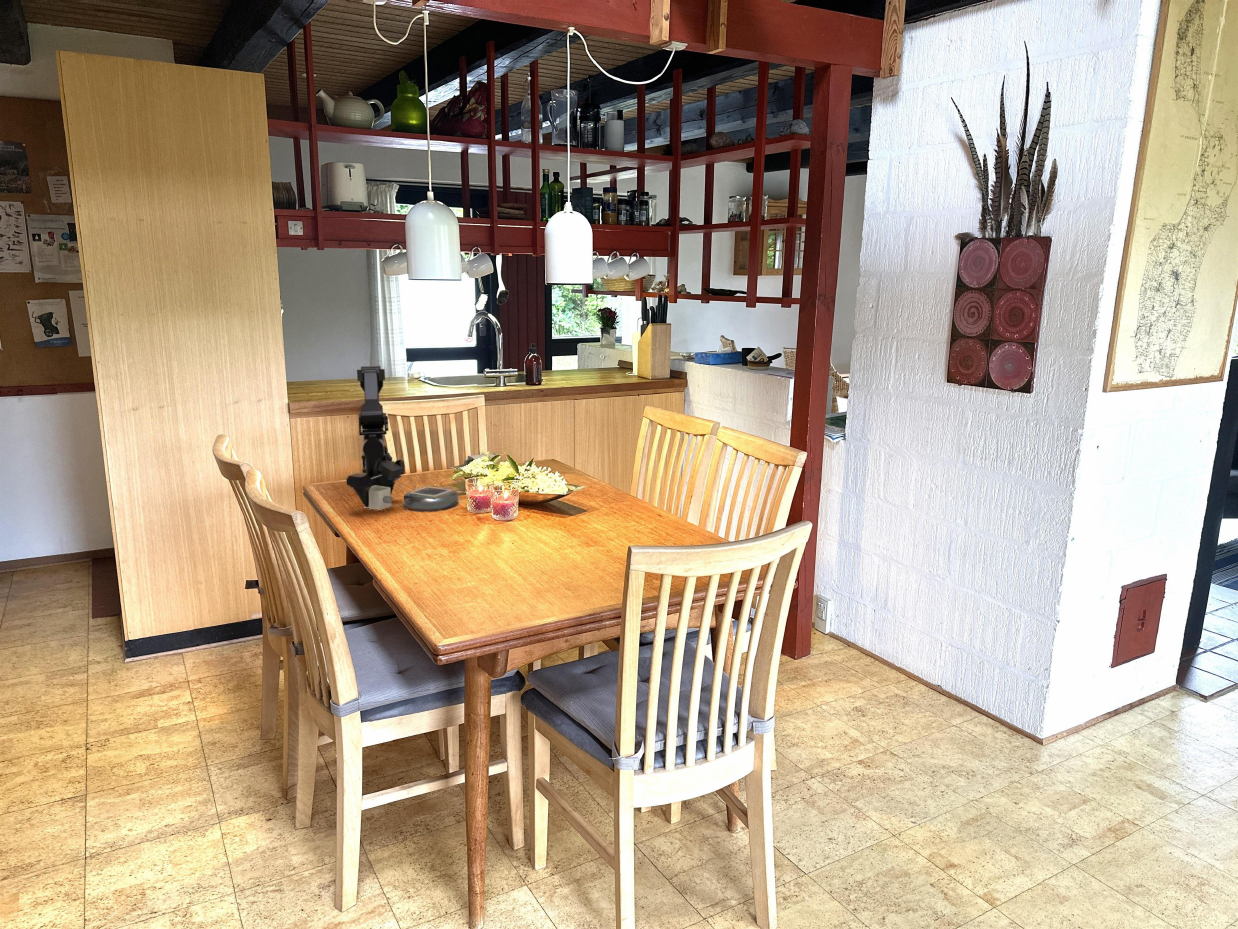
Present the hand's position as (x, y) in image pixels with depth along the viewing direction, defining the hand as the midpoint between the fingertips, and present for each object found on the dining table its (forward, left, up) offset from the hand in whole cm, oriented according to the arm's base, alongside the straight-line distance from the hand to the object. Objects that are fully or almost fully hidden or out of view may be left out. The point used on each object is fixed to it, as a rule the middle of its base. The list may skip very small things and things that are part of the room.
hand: (377, 503), depth 252 cm
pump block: (0, 0, -1) cm, 1 cm away
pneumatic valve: (+16, +32, -2) cm, 36 cm away
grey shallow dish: (+12, +10, -1) cm, 16 cm away
